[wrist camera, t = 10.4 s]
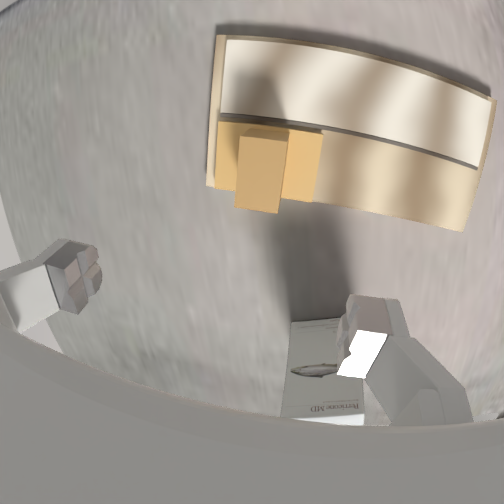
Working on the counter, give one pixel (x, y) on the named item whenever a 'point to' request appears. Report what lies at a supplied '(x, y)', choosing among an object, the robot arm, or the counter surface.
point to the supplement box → (319, 377)
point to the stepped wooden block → (266, 164)
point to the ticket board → (361, 124)
